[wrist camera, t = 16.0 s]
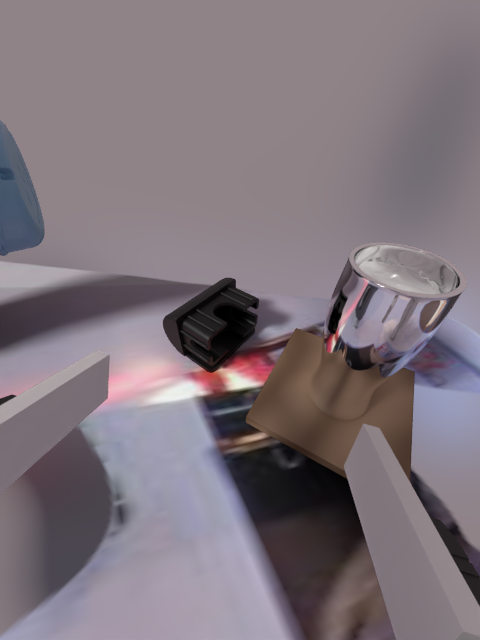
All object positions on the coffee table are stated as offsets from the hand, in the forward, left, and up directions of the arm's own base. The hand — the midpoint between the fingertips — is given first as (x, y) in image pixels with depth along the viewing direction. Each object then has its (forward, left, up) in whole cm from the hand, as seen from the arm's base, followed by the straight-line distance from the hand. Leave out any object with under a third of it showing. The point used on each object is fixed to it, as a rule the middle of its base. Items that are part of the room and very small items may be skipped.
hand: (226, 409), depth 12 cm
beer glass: (+6, +12, -11) cm, 17 cm away
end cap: (-10, +13, -12) cm, 21 cm away
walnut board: (+6, +12, -12) cm, 18 cm away
